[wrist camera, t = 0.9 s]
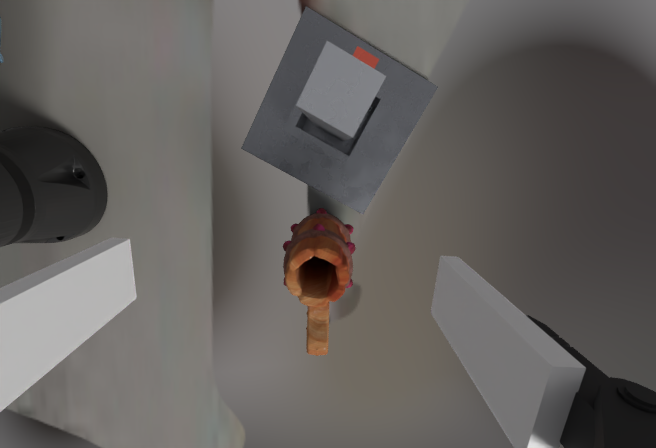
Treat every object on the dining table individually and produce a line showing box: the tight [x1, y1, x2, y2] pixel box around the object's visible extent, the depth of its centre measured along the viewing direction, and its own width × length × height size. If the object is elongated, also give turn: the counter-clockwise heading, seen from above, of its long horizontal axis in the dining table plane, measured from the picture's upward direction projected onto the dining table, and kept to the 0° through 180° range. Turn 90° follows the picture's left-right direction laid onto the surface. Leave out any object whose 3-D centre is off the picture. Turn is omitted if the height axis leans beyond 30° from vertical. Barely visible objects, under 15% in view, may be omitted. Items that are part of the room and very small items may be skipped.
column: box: [296, 41, 386, 141], centre depth 28 cm, size 4×5×20 cm
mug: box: [283, 208, 355, 356], centre depth 36 cm, size 15×8×15 cm, turn 179°
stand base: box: [242, 6, 438, 214], centre depth 34 cm, size 18×18×9 cm
